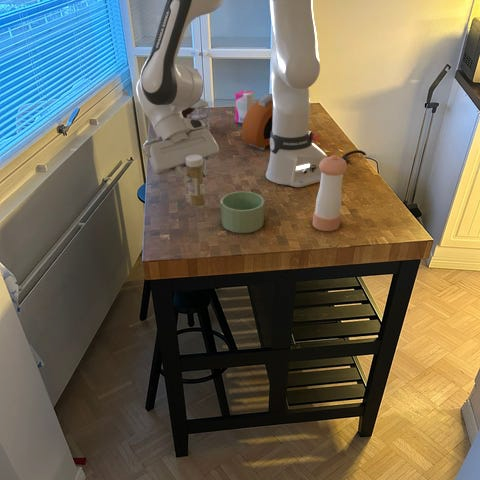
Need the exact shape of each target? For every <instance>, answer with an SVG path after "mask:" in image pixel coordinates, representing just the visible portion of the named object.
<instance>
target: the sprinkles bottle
mask: <svg viewBox="0 0 480 480" xmlns="http://www.w3.org/2000/svg"><path fill="white" fill-rule="evenodd" d="M202 165H203V159H202V156H200V155H189V156H187V157H186V166H187V167H186V175H187V174H189V176H190V178H191V181H190V182H189V183H187V184H188V186H187V187H188V194H189V204H190V206H192V207H198V208H199V207H202V206H204V205H206V195H205V191H206V190H205V181H204V180H205V179H204V177H203V169H202Z"/></svg>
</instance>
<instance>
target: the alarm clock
mask: <svg viewBox="0 0 480 480" xmlns="http://www.w3.org/2000/svg"><path fill="white" fill-rule="evenodd" d="M272 121H273V94H272V93H269V94H267V95H264V96H263V97H261V98H259V99H257V100H256V101H254V104H253V105H252V106H251V108H250V109H249V110H248V112H247V114H246V116H245V118H244V121H243V124H241V139H242V141H243V142H245V143H246V144H248V145H250V146H252V147H254V148H257V149H259V150H261V151H265V149H266V147H267V146H270V137H271V130H272Z"/></svg>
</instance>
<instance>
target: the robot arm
mask: <svg viewBox="0 0 480 480" xmlns="http://www.w3.org/2000/svg"><path fill="white" fill-rule="evenodd" d="M223 2H224V0H166V3H165V5H164V7H163V11H162V14H161V16H160V17H161V18H160V20H159V24H158V26H157V31H156V33H155V37H154V40H153V43H152V47H151V48H150V49H151V50H150V52H149V54H148V57H147V58H146V61H145V62H144V64H143V66H142V68H141V72H140V76H139V80H138V81H137V83H136V95H137V98H138V101H139V103H140V106H141V108H142V110H143V112H144V114H145V116H146V117H147V119H148V120H149V121H150V123H151V125H152V128H153V129H152V130H153V131H154V133H155V136H156V137H155V138H153V139H148V140H146V141H145V143H144V144H143V146H142V147H143V148H142V149H143V151H144V153H145V155H146V156H147V157H148V161H149V164H150V166H151V168H152V171H153V173H154V174H155V175H157V176H162V175H165V174H168V173H171V172H174V174H175V175H176V176H177V177H179V178H181V179H182V181H183V183H184V185H186V184H188V183H189V182H190V181H191V178H190V176H189V174H187V173H185V172H184V171H183V168H187V166H186V157H187V156H189V155H200V156H202V159H203V165H202V169H203V178H206V177H208V176H209V172H208V170H207V161H209V160H211V159H214V158H215V157H216V156H217V155H218V154H219V151H220V150H219V149H220V148H219V145H218V144H217V141H216V139H215V138H214V136H213V134H212V133H211V132H210V130H209V131H208V130H207V129H205V128H206V127H205V124H204V122H205V121H204V122H203V121H202V120H198V119H189V117H187V118H184V117H183V115H182V111H183V110H186V109H188V108H189V107H191V106H193V105H194V104H196V103H197V102H198V101H199V99H202V95H203V92H204V82H203V79H202V76H201V74H200V72H199V71H198V72H197V71H196V70H195V69H196V68H194V67H190V66H188V65H187V66H186V65H183V64H177V59H178V55H179V53H180V49H181V45H182V42H183V39H184V36H185V34H186V30H187V28H188V27H189V25H190V24H191V23H192V22H193V21H194V20H195V19H197V18H199V17H202V16H205V15H209V14H211V13H214V12H215V11H216V10H218V9H219V8H220V7H221V6H222V4H223ZM268 2H269V10H270V11H269V12H270V19H271V25H272V30H273V36H274V44H273V45H272V48H271V52H270V53H271V54H270V57H271V58H270V63H271V64H270V66H271V70H270V71H271V72H270V73H271V91H272V92H271V94H273V121H272V130H271V137H270V145H269V149H270V154H269V160H268V164H267V169H266V172H265V178H266V179H267V180H268V181H270V182H271V183H274V184H277V185H278V184H279V185H284V186H291V187H294V188H303V187H306V186H310V185H313V184H314V185H315V184H317V183H320V181H321V173H322V172H321V171H320V168H319V164H320V162H321V161H322V159H324V158H326V157H331V156H332V155H327V154H326V152H324V150H323V149H321V148H320V147H319V146H318V145H316V142H318V141H319V140H320V136H319V134H317V133H315V132H312V131H311V130H309V129H310V114H311V99H310V87H312V86H313V85H314V84H315V83H316V81H317V80H318V78H319V76H320V72H321V62H320V57H319V49H318V48H319V47H318V38H317V30H316V25H315V19H314V6H313V0H269V1H268ZM204 127H205V128H204ZM314 142H315V143H314ZM355 154H360V155H362V156H367V153H366V151H363V150H362V149H361V150H360V149H357V150H356V149H355V150H351V151H349V152H346V153H344V154H343V155H342V159H344V160H345V161H346V163H347V164H349V163H350V160H349V158H348V157H349V156H352V155H355Z"/></svg>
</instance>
